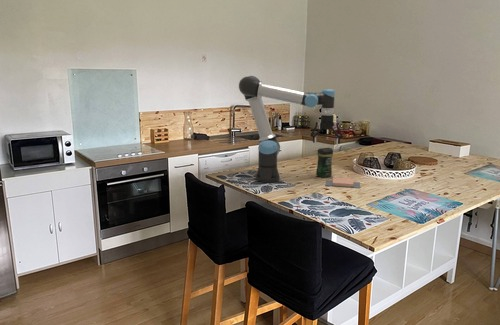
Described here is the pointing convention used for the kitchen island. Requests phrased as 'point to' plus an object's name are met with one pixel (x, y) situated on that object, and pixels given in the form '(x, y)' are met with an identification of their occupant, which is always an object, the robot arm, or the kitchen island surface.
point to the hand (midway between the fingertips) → (326, 148)
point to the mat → (329, 183)
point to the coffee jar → (324, 162)
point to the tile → (342, 182)
